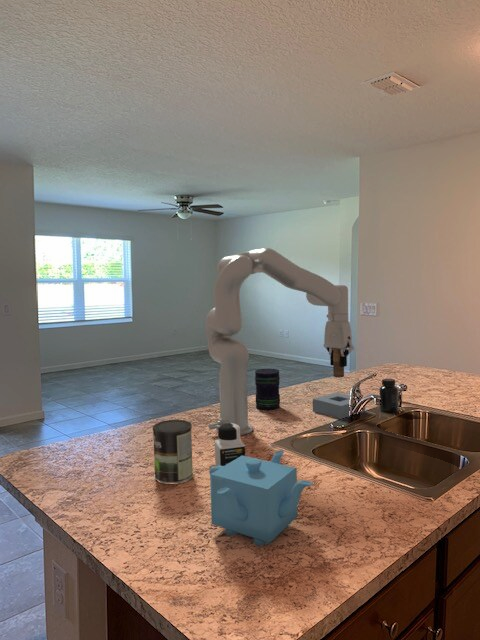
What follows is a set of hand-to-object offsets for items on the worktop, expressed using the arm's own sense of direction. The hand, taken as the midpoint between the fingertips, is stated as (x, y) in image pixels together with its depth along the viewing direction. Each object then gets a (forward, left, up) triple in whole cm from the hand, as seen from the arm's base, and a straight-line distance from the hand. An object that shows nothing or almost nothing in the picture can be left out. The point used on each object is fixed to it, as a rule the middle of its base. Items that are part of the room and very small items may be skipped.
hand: (338, 365), depth 179 cm
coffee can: (-78, -9, -18) cm, 81 cm away
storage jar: (-16, +23, -18) cm, 34 cm away
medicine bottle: (-63, -14, -18) cm, 67 cm away
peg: (0, 0, -4) cm, 4 cm away
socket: (0, 0, -18) cm, 18 cm away
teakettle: (-78, -44, -18) cm, 91 cm away
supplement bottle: (+15, -12, -18) cm, 27 cm away
